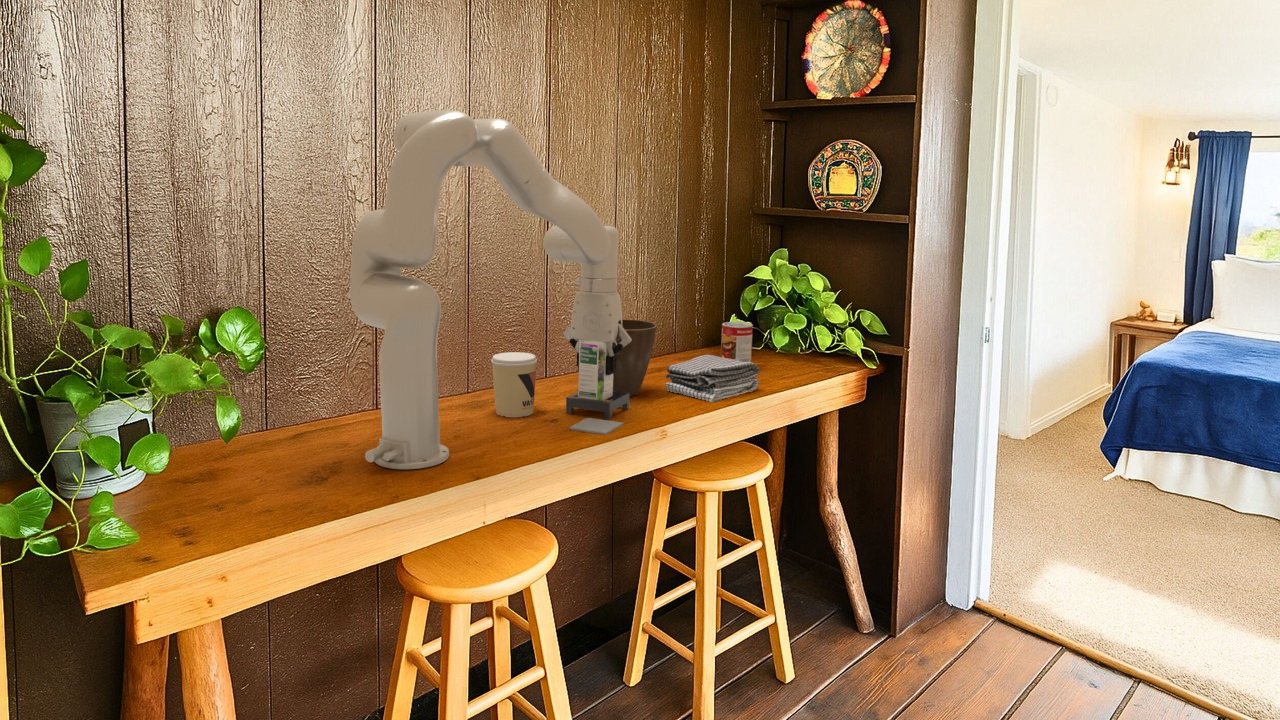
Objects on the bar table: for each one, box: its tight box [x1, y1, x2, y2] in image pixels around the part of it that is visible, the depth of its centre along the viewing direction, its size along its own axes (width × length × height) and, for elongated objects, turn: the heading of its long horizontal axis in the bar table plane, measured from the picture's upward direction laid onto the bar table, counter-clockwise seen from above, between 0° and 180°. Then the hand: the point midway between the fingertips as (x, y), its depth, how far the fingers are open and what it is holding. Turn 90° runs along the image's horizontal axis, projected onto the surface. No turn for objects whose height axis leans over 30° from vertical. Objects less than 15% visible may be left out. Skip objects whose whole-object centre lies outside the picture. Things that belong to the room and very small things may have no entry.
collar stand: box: [565, 390, 631, 421], centre depth 183 cm, size 10×10×4 cm
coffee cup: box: [490, 351, 538, 418], centre depth 180 cm, size 9×9×12 cm
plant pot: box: [613, 318, 657, 397], centre depth 198 cm, size 15×15×16 cm
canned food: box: [720, 321, 754, 363], centre depth 224 cm, size 8×8×12 cm
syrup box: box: [577, 340, 613, 401], centre depth 181 cm, size 6×6×14 cm
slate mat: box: [568, 417, 624, 436], centre depth 171 cm, size 8×8×1 cm
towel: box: [665, 354, 761, 403], centre depth 202 cm, size 15×18×8 cm
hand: (596, 371), depth 181 cm, fingers closed on syrup box, 5 cm apart
